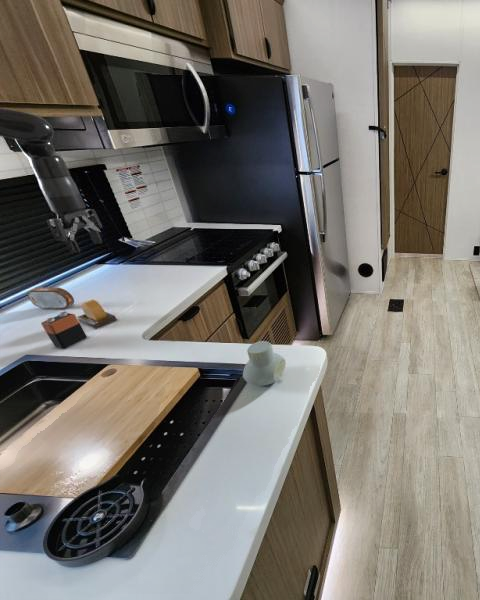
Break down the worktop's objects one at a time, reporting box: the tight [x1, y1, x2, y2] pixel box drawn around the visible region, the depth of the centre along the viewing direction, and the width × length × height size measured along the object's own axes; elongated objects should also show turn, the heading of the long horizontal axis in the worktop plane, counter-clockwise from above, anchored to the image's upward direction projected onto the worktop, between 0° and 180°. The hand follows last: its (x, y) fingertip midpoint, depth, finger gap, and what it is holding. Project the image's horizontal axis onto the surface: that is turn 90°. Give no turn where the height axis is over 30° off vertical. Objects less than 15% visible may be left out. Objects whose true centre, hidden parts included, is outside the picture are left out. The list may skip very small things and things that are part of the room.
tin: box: [26, 286, 75, 310], centre depth 125 cm, size 15×3×8 cm, turn 88°
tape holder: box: [76, 311, 118, 330], centre depth 117 cm, size 6×12×2 cm, turn 63°
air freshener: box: [242, 340, 286, 387], centre depth 86 cm, size 11×8×10 cm
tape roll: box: [81, 299, 107, 322], centre depth 115 cm, size 3×8×8 cm, turn 63°
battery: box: [40, 311, 88, 350], centre depth 103 cm, size 4×7×10 cm, turn 163°
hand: (87, 247), depth 102 cm, fingers open, 8 cm apart
